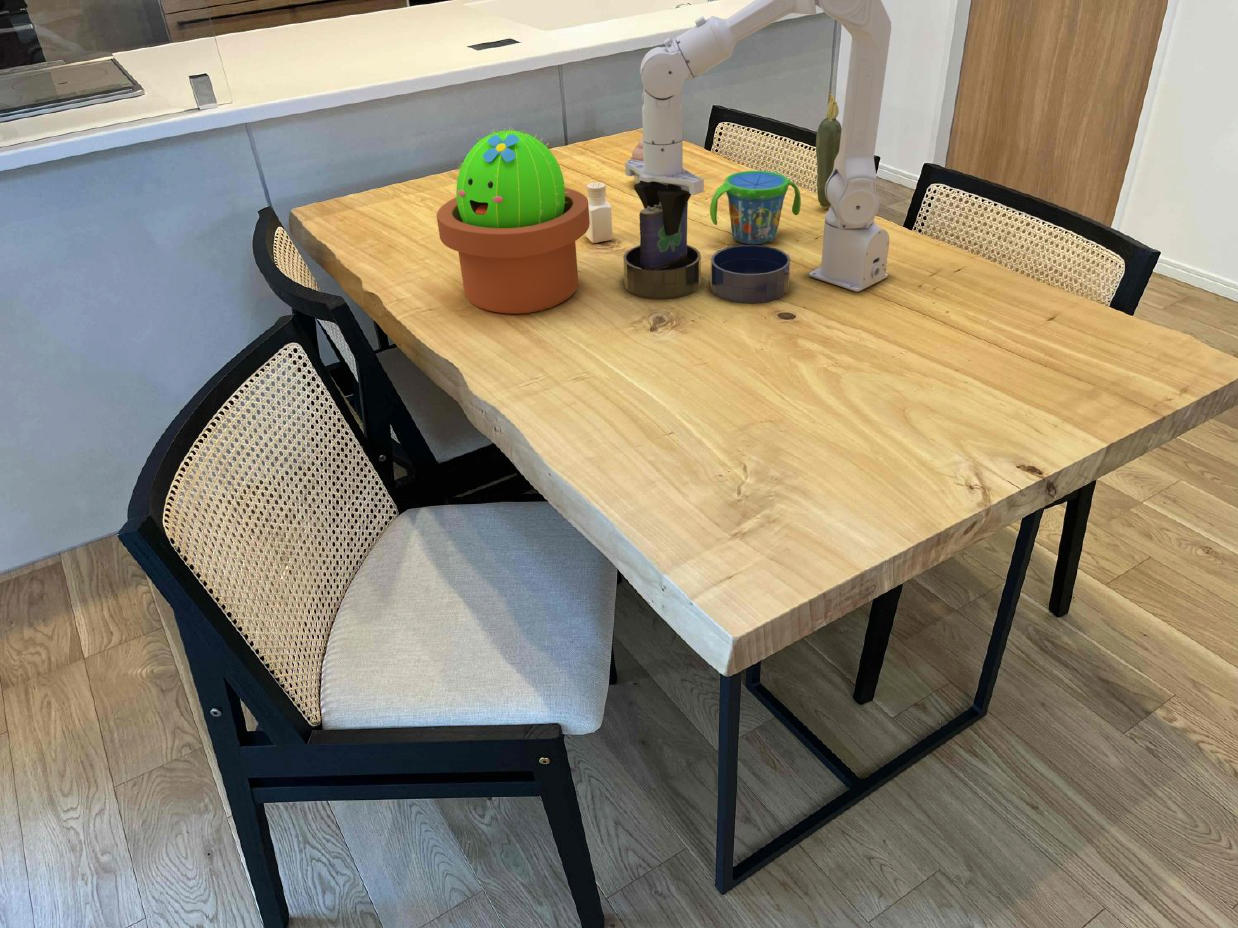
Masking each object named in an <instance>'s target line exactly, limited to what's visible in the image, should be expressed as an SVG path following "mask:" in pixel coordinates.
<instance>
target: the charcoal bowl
mask: <svg viewBox="0 0 1238 928" xmlns="http://www.w3.org/2000/svg"><path fill="white" fill-rule="evenodd" d="M622 257H623V281H624V288H625V289H626V291H627V292H629V293H631V294H632V295H634V296H637V297H640V298H645V299H651V300H669V299H677V298H681V297H684V296H688V295H690V294H692V293H695V292H696V291H697V290H698V289H699V288H700V286H701V283H702V254H701V252H700V251H699V250H698V249H697V248H696V247H694V246H692V245H689V244H687V256H686V258H685V259H683V260H680V261H679V262H677V263H674V264H671V265H670V266H667V267H665V268H661V269H658V270H649V269H642V268H641V250H640V244H639V245H636V246H634V247H632V248H630V249H628V250H627V251H625V252H624V254H623V256H622Z"/></svg>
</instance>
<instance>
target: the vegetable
mask: <svg viewBox="0 0 1238 928" xmlns="http://www.w3.org/2000/svg"><path fill="white" fill-rule="evenodd" d="M828 97H829V98H828V101H827V103H828V104H827V108H826V111H825V116H826V117H825V118H823V119H822V120H821V122H819V123H820V124H819V125H818V128H817V131H816V139H815V156H816V170H817V171H816V174H817V175H816V176H817V177H816V190H817V191H816V192H817V201H818V203H819V206H820V207H822V209H823V210H825V209H829V208H830V207H831V204H830V203H829V201H828V200H827V198H826V195H825V186H826V182H827V180H828V178H829V177H830V175H831V174H832V171H833V168H834V161H835V159H836V157H837V155H838V153H839V148H840V139H841V130H842V124H841V123H840V121H839V120H838V119H837V118H838V116H839V114H840V112H839V111H840V109H839V105H838V102H837V101H836V96H835V95H834V94H833V93H830V94H829V95H828Z"/></svg>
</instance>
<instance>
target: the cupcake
mask: <svg viewBox="0 0 1238 928" xmlns="http://www.w3.org/2000/svg"><path fill="white" fill-rule="evenodd" d="M632 160H638V161H643V137H641V138H640V140H639V141H638V143H637V145H636V146H635V147H634V148H633V150H632V152H631V157H630V158H629V159H628V160H626V162H628V161H632ZM632 177H633V179H634V184H637V183H640V181H641V180H640V177H637V176H634V175H633V176H632Z"/></svg>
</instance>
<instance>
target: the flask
mask: <svg viewBox="0 0 1238 928" xmlns="http://www.w3.org/2000/svg"><path fill="white" fill-rule="evenodd" d="M688 207H689V201H688V202H687V204H686V206H685V209H684V212H683V215H682V218H681V222H680V226H679V231H678V233H676V234H673V235H670V236H668V235H666V234H665V229H664V216H663V210H662V205H661V202H659V204H658V205H654V207H651V208H650V206H647V208H645V209H644V208H643V209H641V210H640V211H639V214H638V217H639V239H640V241H639V245H640V250H641V268H642V269H649V270H658V269H661V268H665V267H667V266H670V265H671V264H674V263H677V262H679V261H680V260H683V259H685V258H686V256H687V245H688V210H689V208H688Z"/></svg>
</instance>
